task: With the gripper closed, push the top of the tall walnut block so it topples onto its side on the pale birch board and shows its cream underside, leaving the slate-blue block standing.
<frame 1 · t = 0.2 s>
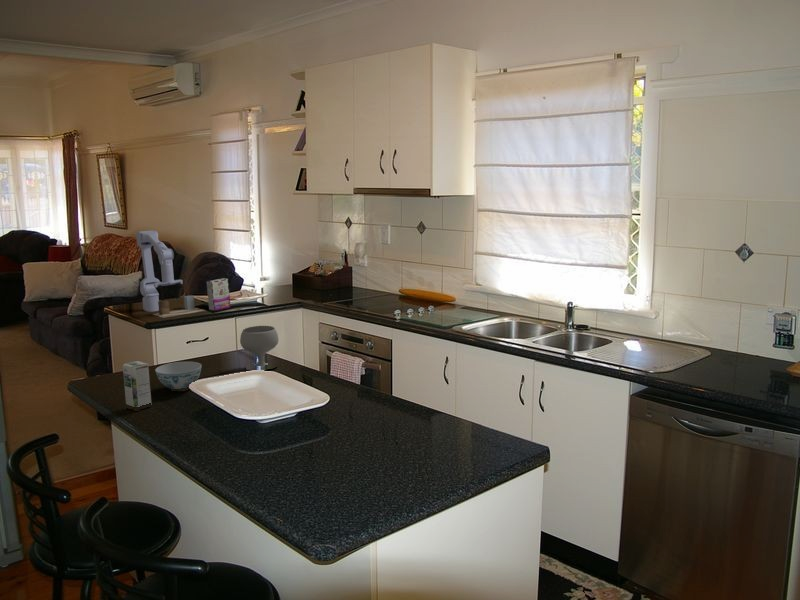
hand: (169, 299, 358), 10 cm above the counter, tool pointing down, fingers open, 7 cm apart
syrup box: (139, 408, 221), on the counter
slate blue block: (189, 309, 380), point 1 cm above the counter, touching birch board
chinaware: (180, 389, 239), on the counter
chalice: (261, 368, 262), on the counter
birch board: (179, 313, 371), on the counter
candy bar box: (219, 310, 380), on the counter
walnut block: (164, 314, 366), point 1 cm above the counter, touching birch board
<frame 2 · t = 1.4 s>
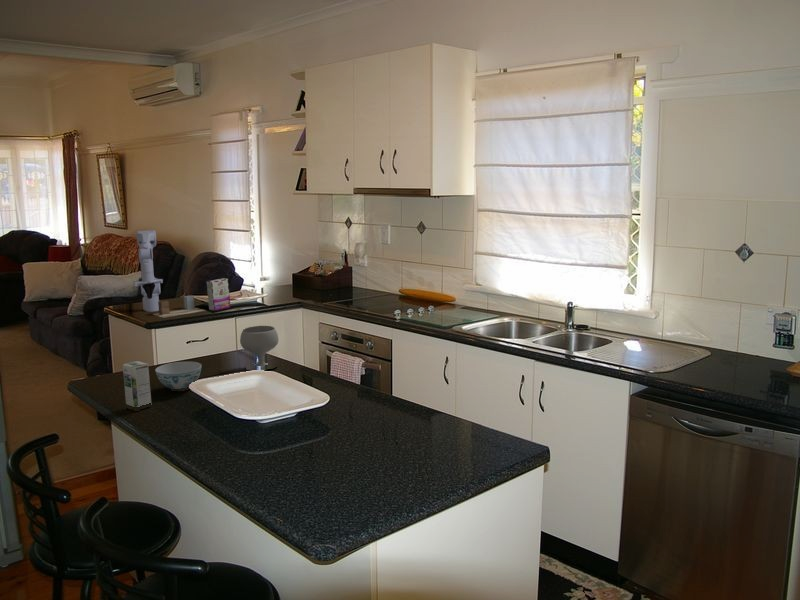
hand: (149, 298, 360), 10 cm above the counter, tool pointing down, fingers closed
nothing on the counter moved.
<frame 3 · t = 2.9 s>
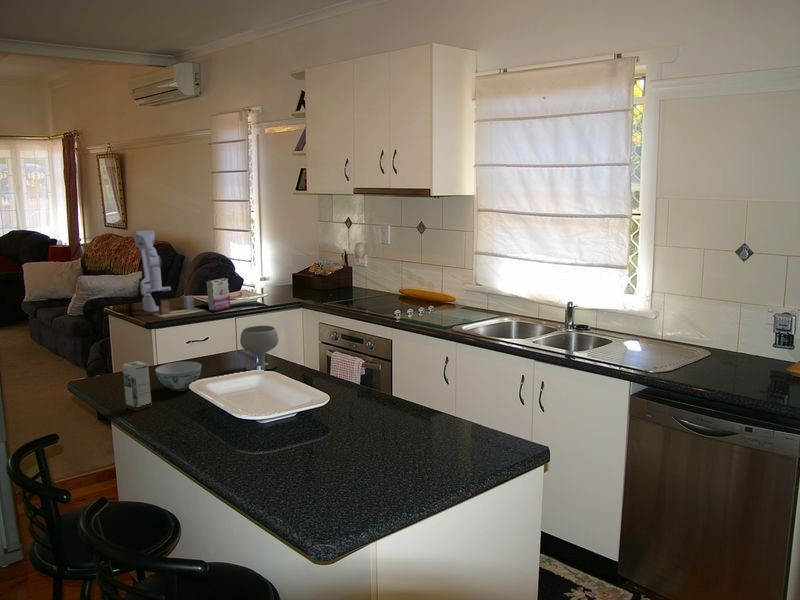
hand: (157, 305, 363), 6 cm above the counter, tool pointing down, fingers closed
walnut block: (164, 314, 366), point 1 cm above the counter, touching birch board, gripper
everything else where it was.
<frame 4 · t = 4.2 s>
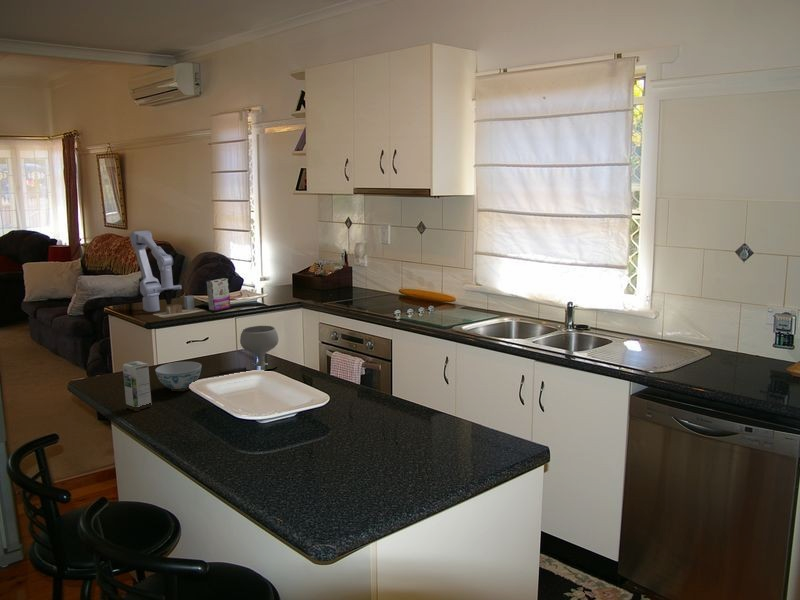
hand: (169, 304, 367), 6 cm above the counter, tool pointing down, fingers closed
walnut block: (167, 310, 367), point 3 cm above the counter, tilted 90°, touching birch board
everything else where it was.
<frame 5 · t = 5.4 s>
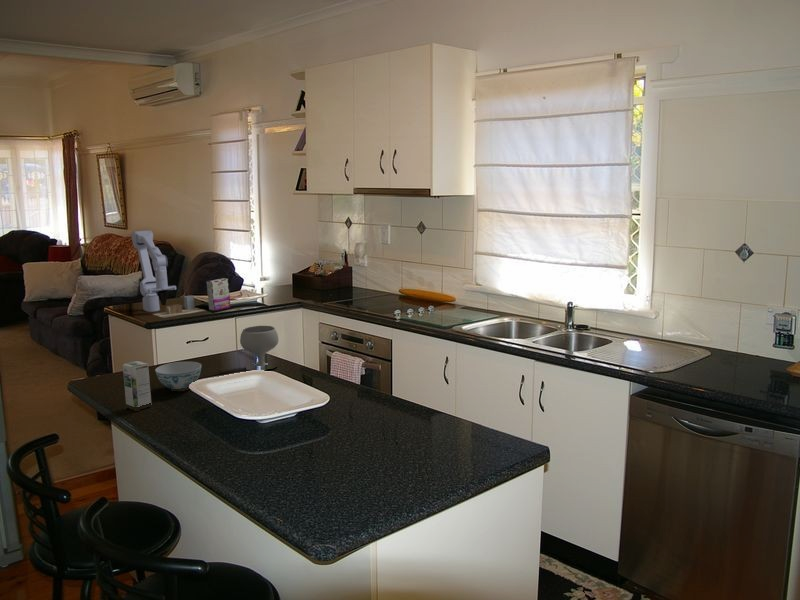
hand: (163, 304, 365), 6 cm above the counter, tool pointing down, fingers closed
nothing on the counter moved.
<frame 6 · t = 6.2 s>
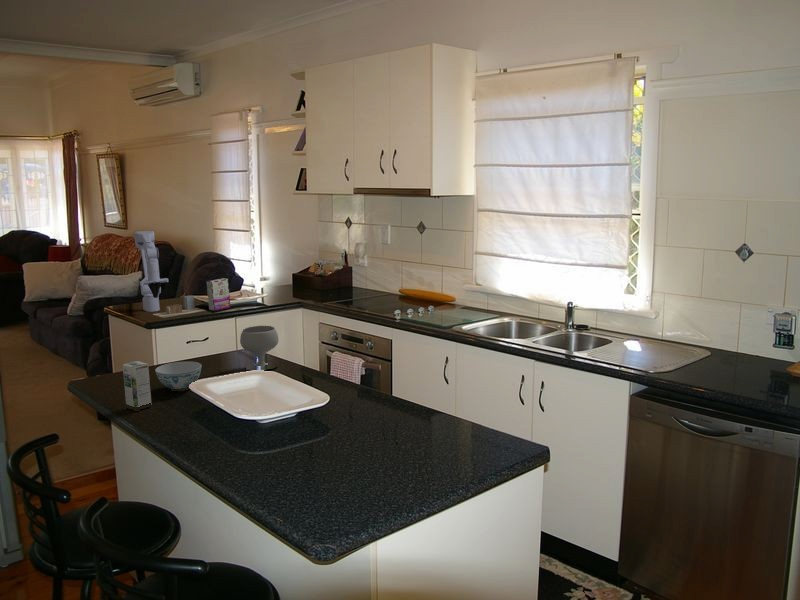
hand: (155, 297, 362), 10 cm above the counter, tool pointing down, fingers closed
nothing on the counter moved.
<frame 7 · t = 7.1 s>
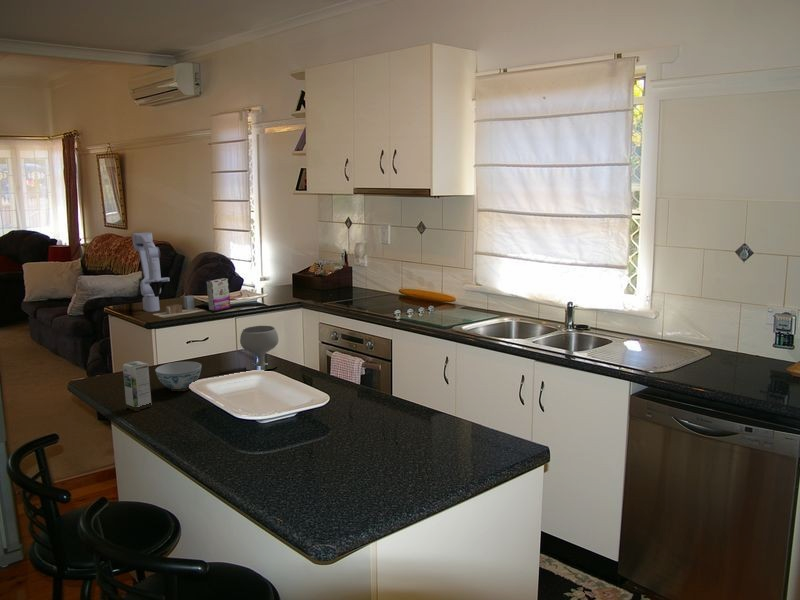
hand: (156, 296, 365), 10 cm above the counter, tool pointing down, fingers closed
nothing on the counter moved.
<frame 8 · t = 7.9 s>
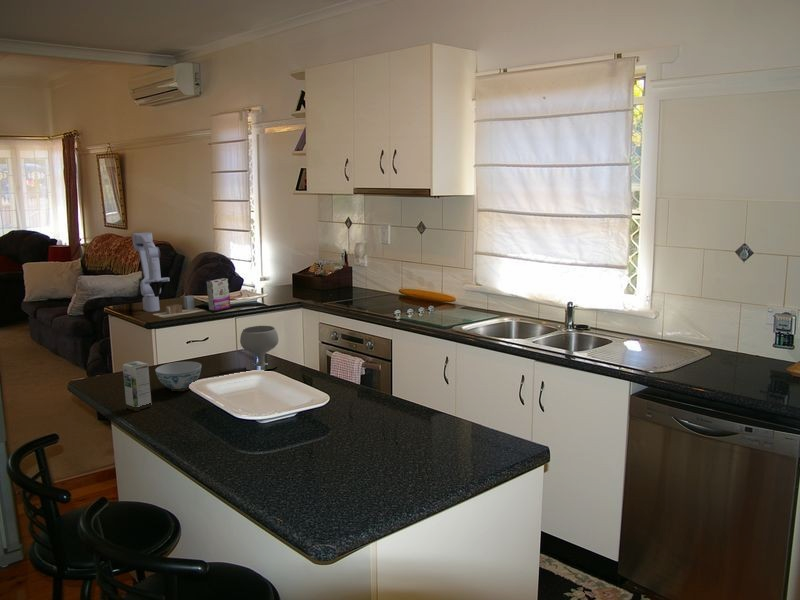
hand: (156, 296, 365), 10 cm above the counter, tool pointing down, fingers closed
nothing on the counter moved.
at the end: walnut block tilted 90°; walnut block inside the target area (5.0 cm from its centre), point 2.8 cm above the counter; slate blue block tilted 0° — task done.
